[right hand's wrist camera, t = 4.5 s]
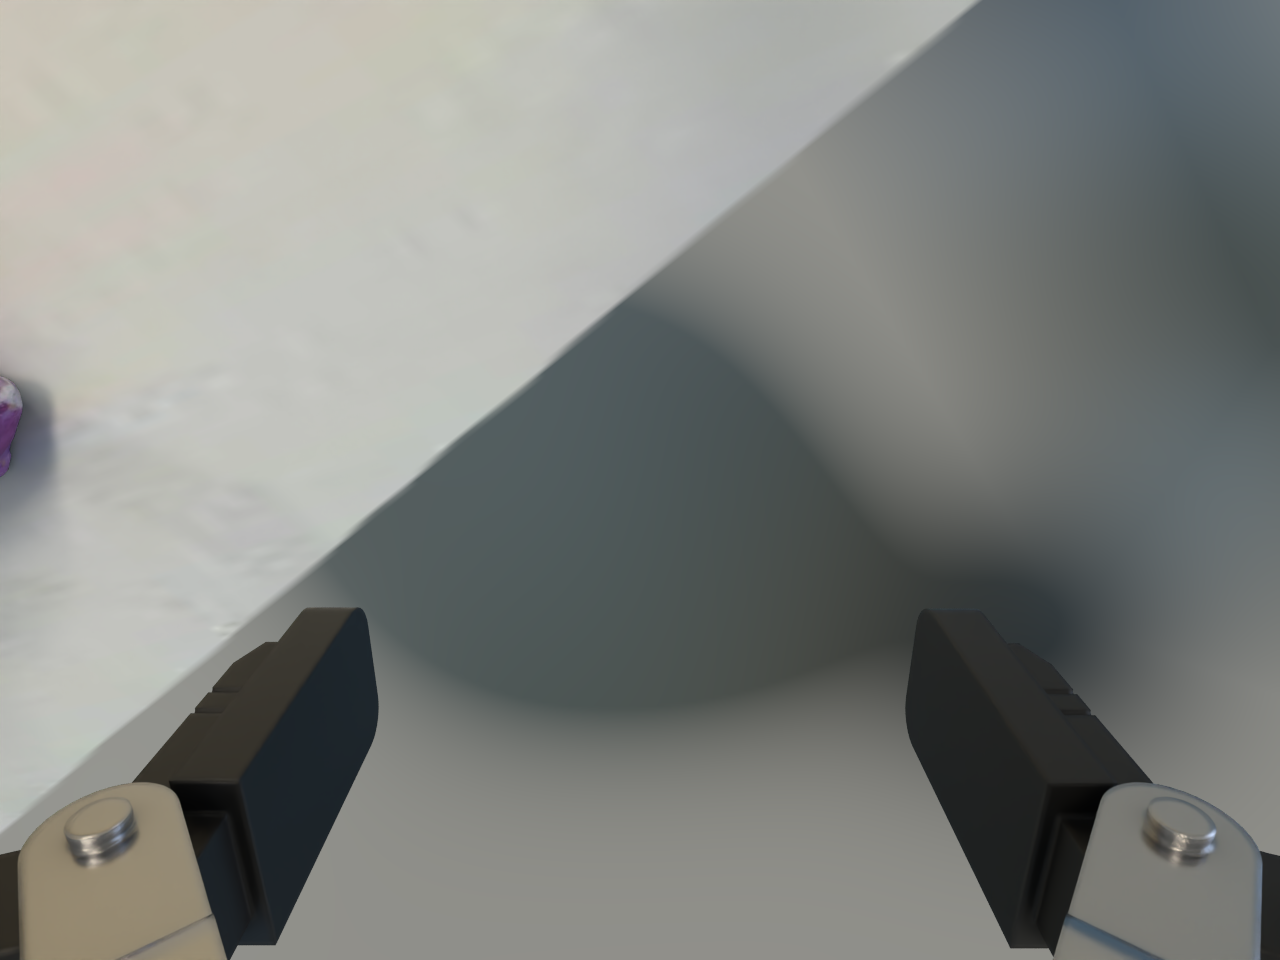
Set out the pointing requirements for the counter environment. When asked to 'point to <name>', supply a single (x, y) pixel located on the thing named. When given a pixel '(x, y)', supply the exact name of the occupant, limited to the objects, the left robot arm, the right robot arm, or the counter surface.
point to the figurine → (8, 419)
